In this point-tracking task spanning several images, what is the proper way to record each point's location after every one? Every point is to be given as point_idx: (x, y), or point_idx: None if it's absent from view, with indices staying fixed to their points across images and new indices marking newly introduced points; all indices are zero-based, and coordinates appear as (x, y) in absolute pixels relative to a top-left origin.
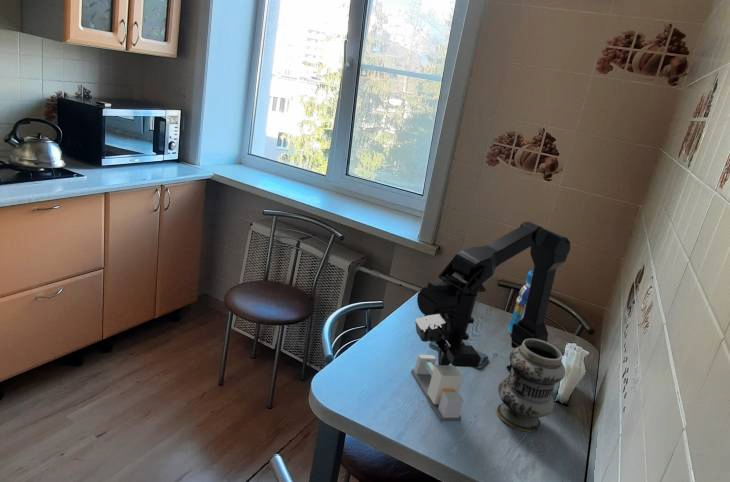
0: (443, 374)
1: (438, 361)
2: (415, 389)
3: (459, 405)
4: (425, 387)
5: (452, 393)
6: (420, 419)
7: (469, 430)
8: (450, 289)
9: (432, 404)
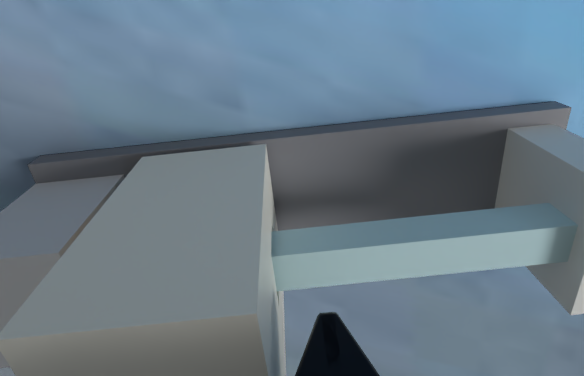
0: (35, 364)
1: (366, 369)
2: (354, 80)
3: None
4: (349, 151)
5: None
6: (3, 24)
7: None
8: None
9: (163, 150)
